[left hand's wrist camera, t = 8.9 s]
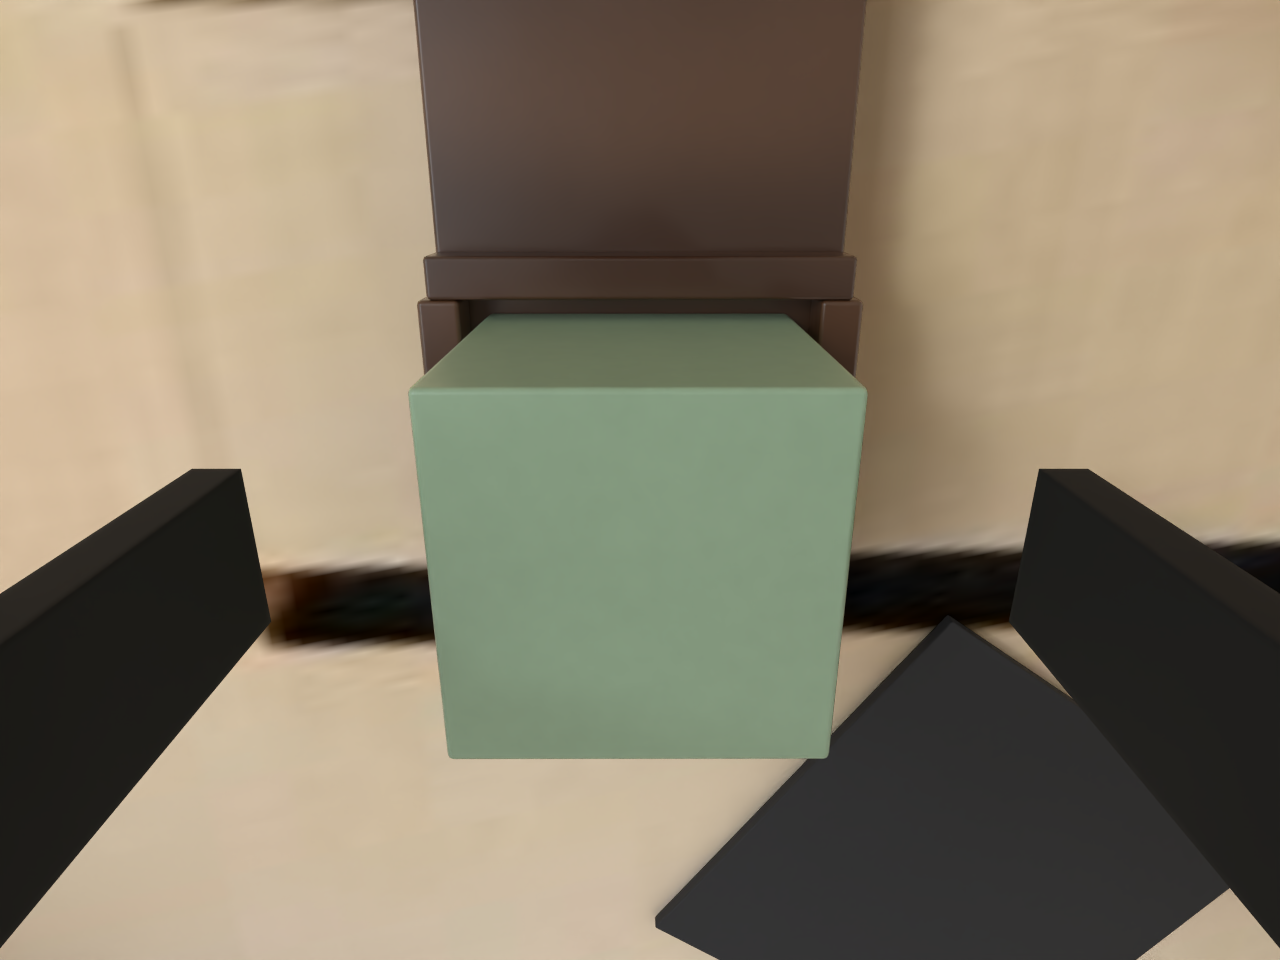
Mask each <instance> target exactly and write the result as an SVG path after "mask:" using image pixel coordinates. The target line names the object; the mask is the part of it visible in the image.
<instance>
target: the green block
mask: <svg viewBox="0 0 1280 960" xmlns="http://www.w3.org/2000/svg"><path fill="white" fill-rule="evenodd" d="M408 396H409V405H410V414H411V423H412V432H413V441H414V450H415V459H416V468H417V477H418V487H419V496H420V505H421V514H422V523H423V532H424V541H425V550H426V559H427V568H428V577H429V586H430V595H431V604H432V613H433V622H434V632H435V641H436V650H437V659H438V668H439V677H440V686H441V695H442V704H443V713H444V722H445V731H446V740H447V749H448V755H449V757H450V758H452V759H823V758H826V757H827V756H828V754H829V747H830V738H831V729H832V719H833V710H834V701H835V692H836V682H837V673H838V664H839V655H840V646H841V636H842V627H843V618H844V609H845V599H846V590H847V581H848V572H849V563H850V553H851V544H852V535H853V526H854V516H855V507H856V498H857V489H858V480H859V470H860V461H861V452H862V443H863V433H864V424H865V415H866V406H867V397H868V392H867V389H866V388H865V387H864V386H863V385H862V384H861V383H860V382H859V381H858V380H857V379H856V378H855V377H853V376H852V375H851V374H850V373H849V372H848V371H847V370H846V369H845V368H844V367H843V366H842V365H841V364H839V363H838V362H837V361H836V360H835V359H834V358H833V357H832V356H831V355H830V354H829V353H828V352H827V351H825V350H824V349H823V348H822V347H821V346H820V345H819V344H818V343H817V342H816V341H815V340H814V339H812V338H811V337H810V336H809V335H808V334H807V333H806V332H805V331H804V330H803V329H802V328H801V327H800V326H798V325H797V324H796V323H795V322H794V321H793V320H792V319H791V318H790V317H789V316H788V315H786V314H491V315H489V316H488V317H487V318H486V319H485V320H484V321H482V322H481V323H480V324H479V325H478V326H477V327H476V328H475V329H474V330H473V331H472V332H471V333H469V334H468V335H467V336H466V337H465V338H464V339H463V340H462V341H461V342H460V343H459V344H458V345H456V346H455V347H454V348H453V349H452V350H451V351H450V352H449V353H448V354H447V355H446V356H445V357H443V358H442V359H441V360H440V361H439V362H438V363H437V364H436V365H435V366H434V367H433V368H432V369H430V370H429V371H428V372H427V373H426V374H425V375H424V376H423V377H422V378H421V379H420V380H419V381H417V382H416V383H415V384H414V385H413V386H412V387H411V388H410V390H409V393H408Z"/></svg>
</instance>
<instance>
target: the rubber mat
mask: <svg viewBox="0 0 1280 960" xmlns="http://www.w3.org/2000/svg"><path fill="white" fill-rule="evenodd" d="M1228 889H1229V886H1228V885H1227V884H1226V883H1225V882H1224V880H1223V879H1222V878H1221V877H1220V875H1219V874H1218V873H1217V872H1216V871H1215V869H1214V868H1213V867H1212V866H1211V865H1210V863H1209V862H1208V861H1207V860H1206V859H1205V857H1204V856H1203V855H1202V854H1201V853H1200V851H1199V850H1198V849H1197V848H1196V847H1195V845H1194V844H1193V843H1192V842H1191V841H1190V839H1189V838H1188V837H1187V836H1186V834H1185V833H1184V832H1183V831H1182V830H1181V828H1180V827H1179V826H1178V825H1177V824H1176V822H1175V821H1174V820H1173V819H1172V818H1171V816H1170V815H1169V814H1168V813H1167V812H1166V810H1165V809H1164V808H1163V807H1162V806H1161V804H1160V803H1159V802H1158V801H1157V800H1156V798H1155V797H1154V796H1153V795H1152V794H1151V792H1150V791H1149V790H1148V789H1147V787H1146V786H1145V785H1144V784H1143V783H1142V781H1141V780H1140V779H1139V778H1138V777H1137V775H1136V774H1135V773H1134V772H1133V771H1132V769H1131V768H1130V767H1129V766H1128V765H1127V763H1126V762H1125V761H1124V760H1123V759H1122V757H1121V756H1120V755H1119V754H1118V753H1117V751H1116V750H1115V749H1114V748H1113V747H1112V745H1111V744H1110V743H1109V742H1108V740H1107V739H1106V738H1105V737H1104V736H1103V734H1102V733H1101V732H1100V731H1099V730H1098V728H1097V727H1096V726H1095V725H1094V724H1093V722H1092V721H1091V720H1090V719H1089V718H1088V716H1087V715H1086V714H1085V713H1084V712H1083V710H1082V709H1081V708H1080V707H1079V706H1078V704H1077V703H1076V702H1075V701H1074V700H1073V699H1072V698H1070V697H1069V696H1067V695H1066V694H1064V693H1063V692H1061V691H1060V690H1058V689H1057V688H1055V687H1054V686H1052V685H1051V684H1049V683H1048V682H1046V681H1045V680H1044V679H1042V678H1041V677H1039V676H1038V675H1036V674H1035V673H1033V672H1032V671H1030V670H1029V669H1027V668H1026V667H1024V666H1023V665H1021V664H1020V663H1018V662H1017V661H1015V660H1014V659H1012V658H1011V657H1010V656H1008V655H1007V654H1005V653H1004V652H1002V651H1001V650H999V649H998V648H996V647H995V646H993V645H992V644H990V643H989V642H987V641H986V640H984V639H983V638H981V637H980V636H978V635H977V634H975V633H974V632H973V631H971V630H970V629H968V628H967V627H965V626H964V625H962V624H961V623H959V622H958V621H956V620H955V619H953V618H952V617H950V616H948V615H947V616H946V617H945V618H944V619H943V620H942V621H941V622H940V623H939V624H938V625H937V626H936V627H935V628H934V629H933V630H932V631H931V633H930V634H929V635H928V636H927V637H926V638H925V639H924V640H923V641H922V642H921V643H920V644H919V645H918V646H917V647H916V648H915V649H914V650H913V651H912V652H911V653H910V654H909V655H908V656H907V657H906V658H905V659H904V660H903V662H902V663H901V664H900V665H899V666H898V667H897V668H896V669H895V670H894V671H893V672H892V673H891V674H890V675H889V676H888V677H887V678H886V679H885V680H884V681H883V682H882V683H881V684H880V685H879V686H878V687H877V688H876V689H875V690H874V692H873V693H872V694H871V695H870V696H869V697H868V698H867V699H866V700H865V701H864V702H863V703H862V704H861V705H860V706H859V707H858V708H857V709H856V710H855V711H854V712H853V713H852V714H851V715H850V716H849V717H848V718H847V719H846V720H845V722H844V723H843V724H842V725H841V726H840V727H839V728H838V729H837V730H836V731H835V732H834V733H833V734H832V735H831V738H830V747H829V754H828V756H827V757H826V758H823V759H808V760H807V761H806V762H805V763H804V764H803V765H802V766H801V767H800V768H799V769H798V770H797V771H796V772H795V773H794V774H793V775H792V776H791V777H790V778H789V779H788V780H787V782H786V783H785V784H784V785H783V786H782V787H781V788H780V789H779V790H778V791H777V792H776V793H775V794H774V795H773V796H772V797H771V798H770V799H769V800H768V801H767V802H766V803H765V804H764V805H763V806H762V807H761V808H760V809H759V810H758V812H757V813H756V814H755V815H754V816H753V817H752V818H751V819H750V820H749V821H748V822H747V823H746V824H745V825H744V826H743V827H742V828H741V829H740V830H739V831H738V832H737V833H736V834H735V835H734V836H733V837H732V838H731V839H730V840H729V842H728V843H727V844H726V845H725V846H724V847H723V848H722V849H721V850H720V851H719V852H718V853H717V854H716V855H715V856H714V857H713V858H712V859H711V860H710V861H709V862H708V863H707V864H706V865H705V866H704V867H703V868H702V869H701V870H700V872H699V873H698V874H697V875H696V876H695V877H694V878H693V879H692V880H691V881H690V882H689V883H688V884H687V885H686V886H685V887H684V888H683V889H682V890H681V891H680V892H679V893H678V894H677V895H676V896H675V897H674V898H673V899H672V900H671V902H670V903H669V904H668V905H667V906H666V907H665V908H664V909H663V910H662V911H661V912H660V913H659V914H658V915H657V916H656V918H655V925H656V928H658V929H660V930H662V931H664V932H666V933H668V934H670V935H672V936H674V937H676V938H678V939H680V940H681V941H683V942H685V943H687V944H689V945H691V946H693V947H695V948H697V949H699V950H701V951H703V952H705V953H707V954H709V955H711V956H713V957H715V958H717V959H719V960H1136V959H1138V958H1139V957H1140V956H1142V955H1143V954H1144V953H1145V952H1147V951H1148V950H1149V949H1151V948H1152V947H1153V946H1155V945H1156V944H1157V943H1158V942H1160V941H1161V940H1162V939H1164V938H1165V937H1166V936H1168V935H1169V934H1170V933H1171V932H1173V931H1174V930H1175V929H1177V928H1178V927H1179V926H1181V925H1182V924H1183V923H1185V922H1186V921H1187V920H1188V919H1190V918H1191V917H1192V916H1194V915H1195V914H1196V913H1198V912H1199V911H1200V910H1201V909H1203V908H1204V907H1205V906H1207V905H1208V904H1209V903H1211V902H1212V901H1213V900H1215V899H1216V898H1217V897H1218V896H1220V895H1221V894H1222V893H1224V892H1225V891H1226V890H1228Z"/></svg>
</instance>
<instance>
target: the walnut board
mask: <svg viewBox="0 0 1280 960" xmlns="http://www.w3.org/2000/svg"><path fill="white" fill-rule="evenodd" d="M866 2H867V0H413V3H414V14H415V25H416V36H417V47H418V58H419V69H420V80H421V91H422V102H423V113H424V124H425V135H426V146H427V157H428V168H429V179H430V190H431V201H432V212H433V223H434V234H435V245H436V253H434V254H431V255H428V256H426V257H424V259H423V264H424V274H425V284H426V294H427V297H425V298H424V299H422V300H420V301H418V304H417V309H418V318H419V328H420V338H421V348H422V358H423V367H424V375H425V374H426V373H427V372H428V371H429V370H430V369H432V368H433V367H434V366H435V365H436V364H437V363H438V362H439V361H440V360H441V359H442V358H443V357H445V356H446V355H447V354H448V353H449V352H450V351H451V350H452V349H453V348H454V347H455V346H456V345H458V344H459V343H460V342H461V341H462V340H463V339H464V338H465V337H466V336H467V335H468V334H469V333H471V332H472V331H473V330H474V329H475V328H476V327H477V326H478V325H479V324H480V323H481V322H482V321H484V320H485V319H486V318H487V317H488V316H489V315H491V314H786V315H788V316H789V317H790V318H791V319H792V320H793V321H794V322H795V323H796V324H797V325H798V326H800V327H801V328H802V329H803V330H804V331H805V332H806V333H807V334H808V335H809V336H810V337H811V338H812V339H814V340H815V341H816V342H817V343H818V344H819V345H820V346H821V347H822V348H823V349H824V350H825V351H827V352H828V353H829V354H830V355H831V356H832V357H833V358H834V359H835V360H836V361H837V362H838V363H839V364H841V365H842V366H843V367H844V368H845V369H846V370H847V371H848V372H849V373H850V374H851V375H852V376H853V377H855V378H856V368H857V358H858V349H859V339H860V329H861V319H862V309H863V303H862V301H860V300H859V299H857V298H855V297H853V295H854V285H855V275H856V264H857V259H856V257H855V256H852V255H849V254H847V253H844V244H845V233H846V222H847V211H848V200H849V189H850V178H851V167H852V156H853V145H854V134H855V123H856V112H857V101H858V90H859V79H860V68H861V57H862V46H863V35H864V24H865V13H866Z"/></svg>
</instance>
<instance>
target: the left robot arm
mask: <svg viewBox="0 0 1280 960" xmlns="http://www.w3.org/2000/svg"><path fill="white" fill-rule="evenodd" d="M270 622H271V619H270V614H269V609H268V604H267V599H266V594H265V589H264V584H263V578H262V573H261V568H260V563H259V558H258V553H257V548H256V543H255V538H254V533H253V528H252V523H251V518H250V513H249V508H248V502H247V497H246V492H245V487H244V482H243V477H242V472H241V469H191V470H190V471H188V472H186V473H185V474H183V475H182V476H180V477H179V478H177V479H176V480H174V481H173V482H171V483H170V484H168V485H166V486H165V487H163V488H162V489H160V490H159V491H157V492H156V493H154V494H153V495H151V496H150V497H148V498H147V499H145V500H143V501H142V502H140V503H139V504H137V505H136V506H134V507H133V508H131V509H130V510H128V511H127V512H125V513H124V514H122V515H120V516H119V517H117V518H116V519H114V520H113V521H111V522H110V523H108V524H107V525H105V526H104V527H102V528H101V529H99V530H97V531H96V532H94V533H93V534H91V535H90V536H88V537H87V538H85V539H84V540H82V541H81V542H79V543H77V544H76V545H74V546H73V547H71V548H70V549H68V550H67V551H65V552H64V553H62V554H61V555H59V556H58V557H56V558H54V559H53V560H51V561H50V562H48V563H47V564H45V565H44V566H42V567H41V568H39V569H38V570H36V571H35V572H33V573H31V574H30V575H28V576H27V577H25V578H24V579H22V580H21V581H19V582H18V583H16V584H15V585H13V586H12V587H10V588H8V589H7V590H5V591H4V592H2V593H1V594H0V948H1V947H2V945H3V944H4V943H5V942H6V941H7V939H8V938H9V937H10V936H11V935H12V933H13V932H14V931H15V930H16V928H17V927H18V926H19V925H20V924H21V922H22V921H23V920H24V919H25V918H26V916H27V915H28V914H29V913H30V912H31V910H32V909H33V908H34V907H35V906H36V904H37V903H38V902H39V901H40V900H41V898H42V897H43V896H44V895H45V894H46V892H47V891H48V890H49V889H50V888H51V886H52V885H53V884H54V883H55V881H56V880H57V879H58V878H59V877H60V875H61V874H62V873H63V872H64V871H65V869H66V868H67V867H68V866H69V865H70V863H71V862H72V861H73V860H74V859H75V857H76V856H77V855H78V854H79V853H80V851H81V850H82V849H83V848H84V847H85V845H86V844H87V843H88V842H89V840H90V839H91V838H92V837H93V836H94V834H95V833H96V832H97V831H98V830H99V828H100V827H101V826H102V825H103V824H104V822H105V821H106V820H107V819H108V818H109V816H110V815H111V814H112V813H113V812H114V810H115V809H116V808H117V807H118V806H119V804H120V803H121V802H122V801H123V800H124V798H125V797H126V796H127V795H128V793H129V792H130V791H131V790H132V789H133V787H134V786H135V785H136V784H137V783H138V781H139V780H140V779H141V778H142V777H143V775H144V774H145V773H146V772H147V771H148V769H149V768H150V767H151V766H152V765H153V763H154V762H155V761H156V760H157V759H158V757H159V756H160V755H161V754H162V752H163V751H164V750H165V749H166V748H167V746H168V745H169V744H170V743H171V742H172V740H173V739H174V738H175V737H176V736H177V734H178V733H179V732H180V731H181V730H182V728H183V727H184V726H185V725H186V724H187V722H188V721H189V720H190V719H191V718H192V716H193V715H194V714H195V713H196V712H197V710H198V709H199V708H200V707H201V705H202V704H203V703H204V702H205V701H206V699H207V698H208V697H209V696H210V695H211V693H212V692H213V691H214V690H215V689H216V687H217V686H218V685H219V684H220V683H221V681H222V680H223V679H224V678H225V677H226V675H227V674H228V673H229V672H230V671H231V669H232V668H233V667H234V666H235V664H236V663H237V662H238V661H239V660H240V658H241V657H242V656H243V655H244V654H245V652H246V651H247V650H248V649H249V648H250V646H251V645H252V644H253V643H254V642H255V640H256V639H257V638H258V637H259V636H260V634H261V633H262V632H263V631H264V630H265V628H266V627H267V626H268V625H269V624H270ZM1009 622H1010V624H1011V625H1012V626H1013V627H1014V628H1015V630H1016V631H1017V632H1018V633H1019V634H1020V636H1021V637H1022V638H1023V639H1024V640H1025V642H1026V643H1027V644H1028V645H1029V646H1030V648H1031V649H1032V650H1033V651H1034V652H1035V654H1036V655H1037V656H1038V657H1039V659H1040V660H1041V661H1042V662H1043V663H1044V665H1045V666H1046V667H1047V668H1048V669H1049V671H1050V672H1051V673H1052V674H1053V675H1054V677H1055V678H1056V679H1057V680H1058V681H1059V683H1060V684H1061V685H1062V686H1063V687H1064V689H1065V690H1066V691H1067V692H1068V693H1069V695H1070V696H1071V697H1072V698H1073V699H1074V701H1075V702H1076V703H1077V704H1078V706H1079V707H1080V708H1081V709H1082V710H1083V712H1084V713H1085V714H1086V715H1087V716H1088V718H1089V719H1090V720H1091V721H1092V722H1093V724H1094V725H1095V726H1096V727H1097V728H1098V730H1099V731H1100V732H1101V733H1102V734H1103V736H1104V737H1105V738H1106V739H1107V740H1108V742H1109V743H1110V744H1111V745H1112V747H1113V748H1114V749H1115V750H1116V751H1117V753H1118V754H1119V755H1120V756H1121V757H1122V759H1123V760H1124V761H1125V762H1126V763H1127V765H1128V766H1129V767H1130V768H1131V769H1132V771H1133V772H1134V773H1135V774H1136V775H1137V777H1138V778H1139V779H1140V780H1141V781H1142V783H1143V784H1144V785H1145V786H1146V787H1147V789H1148V790H1149V791H1150V792H1151V794H1152V795H1153V796H1154V797H1155V798H1156V800H1157V801H1158V802H1159V803H1160V804H1161V806H1162V807H1163V808H1164V809H1165V810H1166V812H1167V813H1168V814H1169V815H1170V816H1171V818H1172V819H1173V820H1174V821H1175V822H1176V824H1177V825H1178V826H1179V827H1180V828H1181V830H1182V831H1183V832H1184V833H1185V834H1186V836H1187V837H1188V838H1189V839H1190V841H1191V842H1192V843H1193V844H1194V845H1195V847H1196V848H1197V849H1198V850H1199V851H1200V853H1201V854H1202V855H1203V856H1204V857H1205V859H1206V860H1207V861H1208V862H1209V863H1210V865H1211V866H1212V867H1213V868H1214V869H1215V871H1216V872H1217V873H1218V874H1219V875H1220V877H1221V878H1222V879H1223V880H1224V882H1225V883H1226V884H1227V885H1228V886H1229V888H1230V889H1231V890H1232V891H1233V892H1234V894H1235V895H1236V896H1237V897H1238V898H1239V900H1240V901H1241V902H1242V903H1243V904H1244V906H1245V907H1246V908H1247V909H1248V910H1249V912H1250V913H1251V914H1252V915H1253V916H1254V918H1255V919H1256V920H1257V921H1258V922H1259V924H1260V925H1261V926H1262V927H1263V929H1264V930H1265V931H1266V932H1267V933H1268V935H1269V936H1270V937H1271V938H1272V939H1273V941H1274V942H1275V943H1276V944H1277V945H1278V947H1279V948H1280V594H1279V593H1278V592H1276V591H1275V590H1273V589H1272V588H1270V587H1268V586H1267V585H1265V584H1264V583H1262V582H1261V581H1259V580H1258V579H1256V578H1255V577H1253V576H1252V575H1250V574H1249V573H1247V572H1245V571H1244V570H1242V569H1241V568H1239V567H1238V566H1236V565H1235V564H1233V563H1232V562H1230V561H1229V560H1227V559H1225V558H1224V557H1222V556H1221V555H1219V554H1218V553H1216V552H1215V551H1213V550H1212V549H1210V548H1209V547H1207V546H1206V545H1204V544H1202V543H1201V542H1199V541H1198V540H1196V539H1195V538H1193V537H1192V536H1190V535H1189V534H1187V533H1186V532H1184V531H1183V530H1181V529H1179V528H1178V527H1176V526H1175V525H1173V524H1172V523H1170V522H1169V521H1167V520H1166V519H1164V518H1163V517H1161V516H1160V515H1158V514H1156V513H1155V512H1153V511H1152V510H1150V509H1149V508H1147V507H1146V506H1144V505H1143V504H1141V503H1140V502H1138V501H1136V500H1135V499H1133V498H1132V497H1130V496H1129V495H1127V494H1126V493H1124V492H1123V491H1121V490H1120V489H1118V488H1117V487H1115V486H1113V485H1112V484H1110V483H1109V482H1107V481H1106V480H1104V479H1103V478H1101V477H1100V476H1098V475H1097V474H1095V473H1094V472H1092V471H1090V470H1089V469H1039V472H1038V477H1037V482H1036V487H1035V492H1034V497H1033V502H1032V507H1031V512H1030V518H1029V523H1028V528H1027V533H1026V538H1025V543H1024V548H1023V553H1022V558H1021V563H1020V568H1019V573H1018V578H1017V583H1016V588H1015V594H1014V599H1013V604H1012V609H1011V614H1010V619H1009Z"/></svg>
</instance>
